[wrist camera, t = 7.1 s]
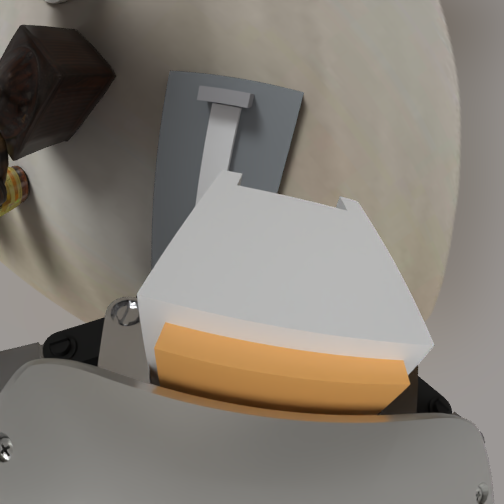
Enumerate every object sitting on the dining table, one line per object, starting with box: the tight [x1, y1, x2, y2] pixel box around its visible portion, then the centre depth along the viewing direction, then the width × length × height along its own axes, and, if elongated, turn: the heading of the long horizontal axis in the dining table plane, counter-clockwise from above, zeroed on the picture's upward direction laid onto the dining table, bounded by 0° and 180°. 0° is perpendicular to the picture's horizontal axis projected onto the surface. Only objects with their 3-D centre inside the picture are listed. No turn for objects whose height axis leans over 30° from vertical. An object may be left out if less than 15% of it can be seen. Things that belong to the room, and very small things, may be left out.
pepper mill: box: [0, 25, 116, 205], centre depth 15 cm, size 16×11×18 cm
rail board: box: [152, 71, 304, 269], centre depth 25 cm, size 28×12×10 cm, turn 168°
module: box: [137, 170, 434, 415], centre depth 9 cm, size 7×6×8 cm
